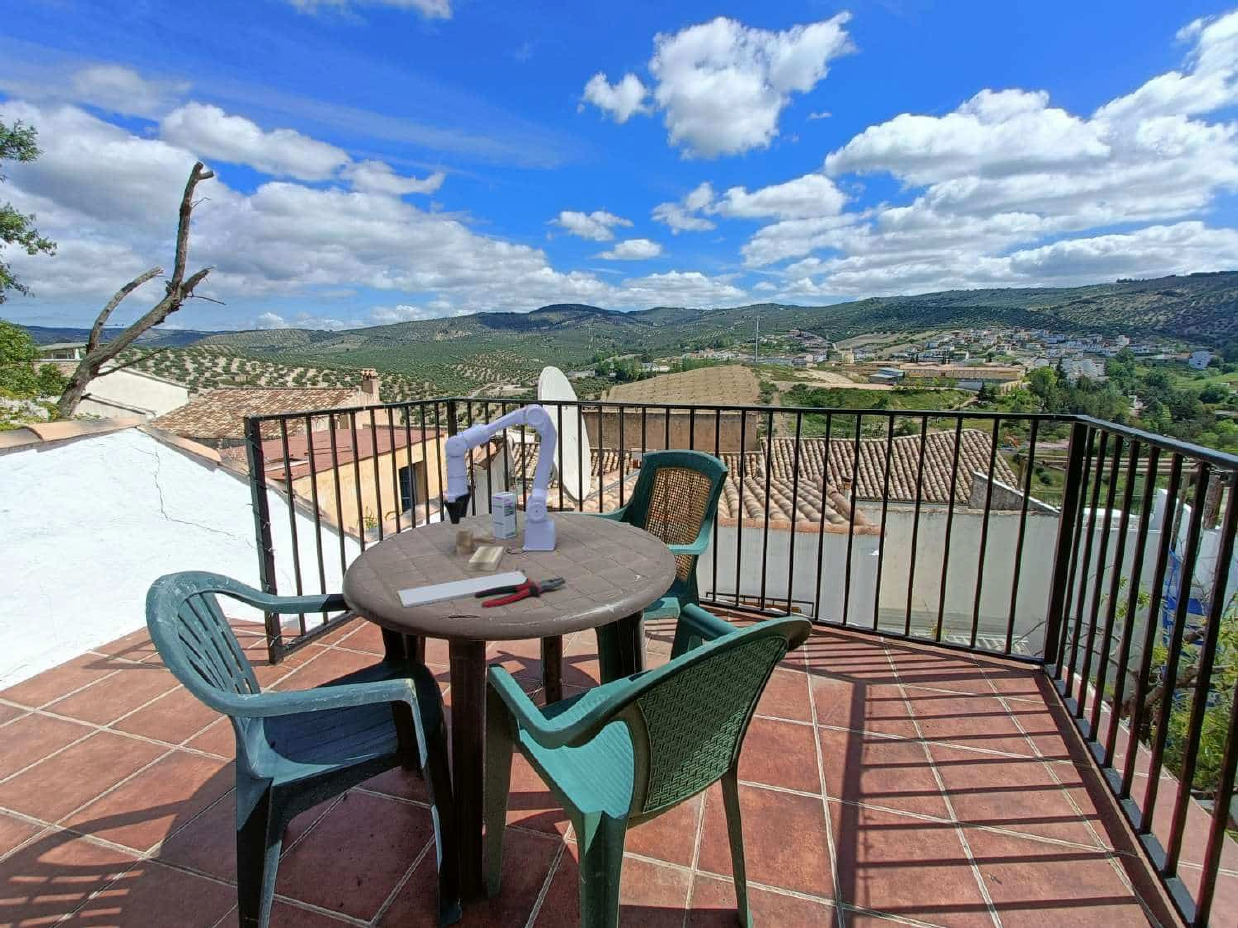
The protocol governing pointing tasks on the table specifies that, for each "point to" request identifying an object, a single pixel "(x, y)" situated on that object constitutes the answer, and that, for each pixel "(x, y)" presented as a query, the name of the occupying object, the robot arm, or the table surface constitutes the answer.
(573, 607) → the table surface
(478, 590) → the baseboard
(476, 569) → the plank
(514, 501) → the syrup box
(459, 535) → the wooden mallet
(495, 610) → the table surface
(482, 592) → the pliers
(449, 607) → the table surface
